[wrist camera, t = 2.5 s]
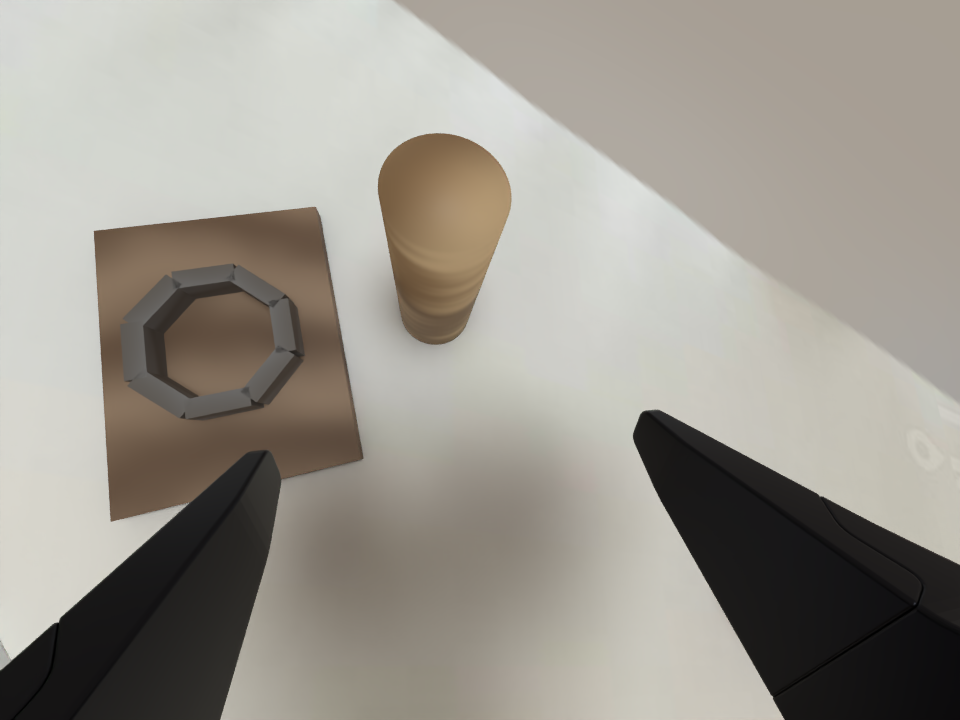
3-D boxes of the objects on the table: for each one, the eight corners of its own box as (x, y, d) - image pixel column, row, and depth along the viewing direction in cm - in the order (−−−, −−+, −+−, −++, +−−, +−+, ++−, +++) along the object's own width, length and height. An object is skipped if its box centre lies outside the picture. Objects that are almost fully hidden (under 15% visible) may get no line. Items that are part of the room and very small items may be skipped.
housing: (363, 458, 21) (355, 461, 18) (127, 517, 18) (82, 529, 16) (319, 216, 23) (308, 191, 21) (109, 240, 21) (68, 215, 19)
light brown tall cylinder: (480, 306, 24) (535, 185, 12) (442, 357, 23) (463, 277, 11) (427, 268, 24) (431, 110, 12) (387, 318, 23) (348, 196, 11)
